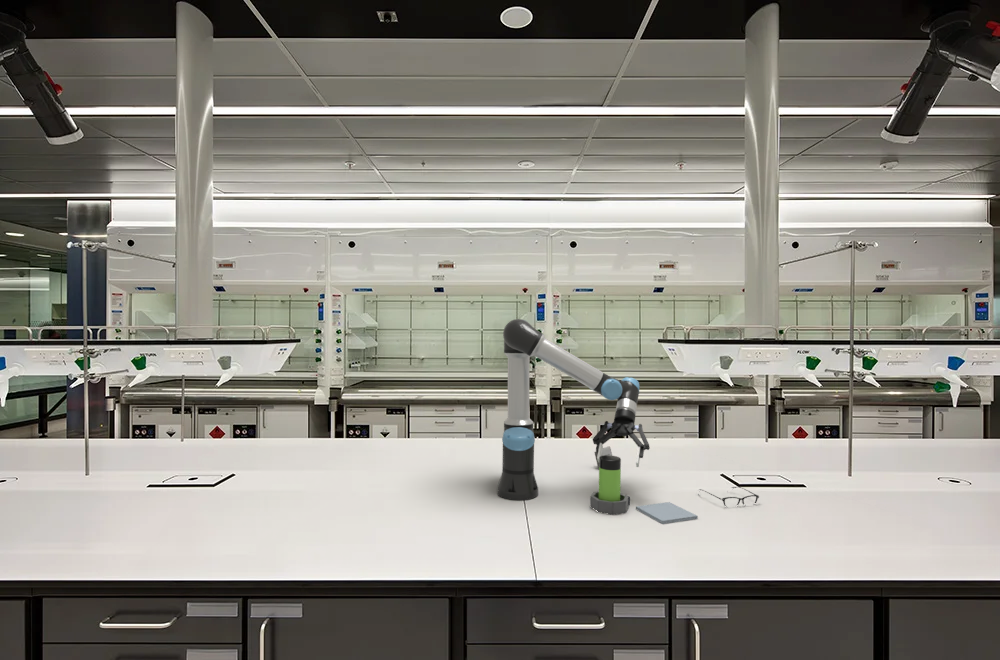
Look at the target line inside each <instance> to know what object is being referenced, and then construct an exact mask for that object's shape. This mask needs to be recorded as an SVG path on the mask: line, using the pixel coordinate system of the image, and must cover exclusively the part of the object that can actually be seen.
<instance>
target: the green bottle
mask: <svg viewBox="0 0 1000 660" xmlns="http://www.w3.org/2000/svg"><path fill="white" fill-rule="evenodd" d="M621 467H622V459H621V457H619V456H616V455H612V456H610V455H605V456H600V457H599V470H598V491H599V500H604V501H611V502H614V501H620V493H621V480H622V479H621V476H622V474H621V473H622V470H621V469H622V468H621Z"/></svg>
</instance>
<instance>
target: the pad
mask: <svg viewBox="0 0 1000 660" xmlns="http://www.w3.org/2000/svg"><path fill="white" fill-rule="evenodd" d="M636 509H638V510H639V511H638V510H637V511H638V512H640V513H642V514H644V515H645V516H647V517H649V518H650V519H652V520H655V521H656V522H658V523H660V524H662V525H665V524H672V523H678V522H685V521H692V520H697V519H698V518H699V516H698V515H697V514H696V513H695V514H694V513H693V512H691V511H689V510H687V509H685V508H682V507H680V506H678V505H676V504H674V503H672V502H671V501H668V502H660V503H651V504H650V503H649V504H645V505H644V504H642V505H636V506H635V510H636Z"/></svg>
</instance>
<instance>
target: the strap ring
mask: <svg viewBox="0 0 1000 660" xmlns="http://www.w3.org/2000/svg"><path fill="white" fill-rule="evenodd" d="M589 500H590V506H591V507H592V508H594V509H595V510H597V511H598V512H602V513H601V514H604V513H608V514H607V515H611V514H615V515H621V514H620V513H623V514H626V513H627V512H628V510H629V506H631V496H629V495H628V494H624V493H622V492H620V501H614V502H611V501H604V500H599V490H598V491H593V492H592V493H591V495H590V499H589ZM590 506H589V507H590ZM592 508H591V509H592ZM627 509H628V510H627ZM595 510H594V511H595ZM598 512H597V513H598Z"/></svg>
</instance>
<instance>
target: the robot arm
mask: <svg viewBox="0 0 1000 660" xmlns="http://www.w3.org/2000/svg"><path fill="white" fill-rule="evenodd" d="M502 334H503V336H502V338H503V354H504V355H505V356H506V358H507V418H506V419H505V420H504V421H503V433H502V438H501V439H502V464H501V465H502V466H501V467H502V469H501V470H502V471H501V476H500V478H499V481H498V485H497V489H496V490H497V491H496V493H497V495H498V497H500V498H503V499H506V500H512V501H524V500H531V499H535V498H537V497H538V495H539V487H538V483H537V479H536V476H535V472H534V471H535V470H534V468H535V466H534V465H535V462H534V461H535V443H536V439H535V434H534V421H533V420H532V419H531V418H530V358H531V357H536V358H537V359H539V360H541V361H543V363H546V364H548V365H549V366H551V367H553V368H555V369H557V370H558V371H560V372H562V373H563V374H565V375H567V376H568V377H570V378H572V379H574V380H575V381H577V382H579V383H581V384H582V385H584V386H585V387H587V388H588V389H589V390H591V391H593V392H594V393H597V394H599V395H600V396H602V397H603V398H605V399H606V400H607V401H608V400H610V401H615V400H617V403H616V407H615V415H614V418H613V422H609V421H607V420H605V421H604V424H603V426H602V427H601V428H600V429H599V430H598V432H597V433H596V434H595V436H594V437H593V438H592V442H593V445H595V446H596V448H595V452H597V453H598V455H597V461H598V462H599V457H600V456H601V455H602V450H603V448H604V444H606V443H607V442H608V441H610V440H611V439H612V438H614V437H616V436H619V437H620V436H624V437H627V436H628V437H630V439H631V440H632V441H633V442H634V444H635V445H636V446H637V449H636V451H637V452H636V457H635V467H636V468H639V467H640V461H641V459H643V458H644V452H645V451H649V450H650V449H651V448H650V443H649V441H648V439H647V437H646V434H645V432H644V430H643V425H642V423H639V424H637V425H636V424H635V422H636V415H637V409H638V408H637V407H638V401H639V394H640V383H639V381H638V380H637V379H636V378H633V377H628V376H625V377H624V378H622V379H618V378H615V377H612V376H610V375H608V374H607V373H605V372H603V371H601V370H600V369H598V368H596V366H595V367H594V366H593V365H591V364H589V363H588V362H586V361H584V360H583V359H581V358H579V357H578V356H576V355H574V354H573V353H571V352H569V351H567V350H566V349H564V348H563V347H561V346H559V345H557V344H556V343H554V342H552V341H550V340H548V339H547V338H546V337H545V335H544V334H543V332H540V331H539V330H538V329H536V328H534V327H533V326H532V325H531V324H530V323H529V322H528V321H527V320H525V319H521V318H516V319H512V320H510V321H508V322H507V323H506V324H505V326H504V329H503V333H502ZM608 430H609V432H608ZM635 430H636V431H637V432H638V433H639V436H640V438H641V440H642V441H641V440H640V439H639V438H638V436H637V435H636V434H635V433H634V431H635ZM597 461H596V462H597Z"/></svg>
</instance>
